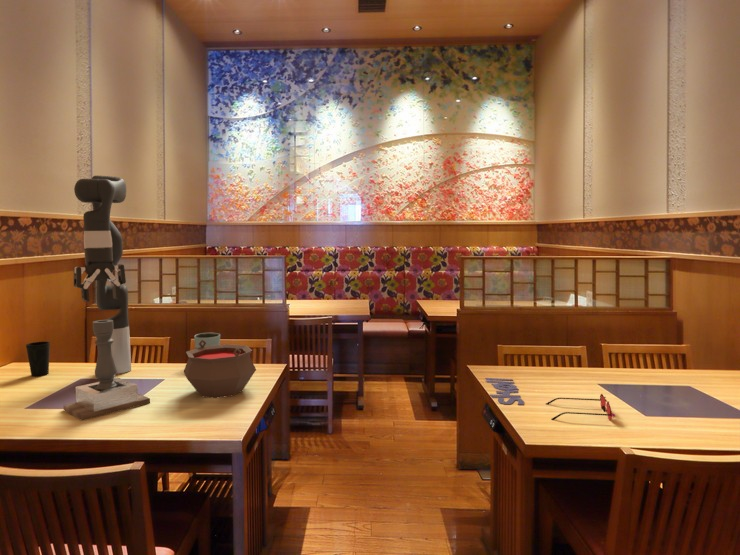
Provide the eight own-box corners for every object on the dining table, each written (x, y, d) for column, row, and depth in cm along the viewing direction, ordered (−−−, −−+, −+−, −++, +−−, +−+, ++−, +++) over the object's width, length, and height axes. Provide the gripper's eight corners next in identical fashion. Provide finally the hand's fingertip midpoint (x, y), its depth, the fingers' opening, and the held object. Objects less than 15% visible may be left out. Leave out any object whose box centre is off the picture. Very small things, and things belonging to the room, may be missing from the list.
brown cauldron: (169, 392, 179) (167, 344, 177) (231, 377, 196) (230, 333, 195) (207, 408, 163) (205, 355, 161) (271, 390, 180) (270, 342, 179)
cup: (55, 373, 205) (53, 342, 204) (34, 378, 199) (32, 346, 198) (45, 371, 209) (43, 340, 208) (24, 375, 203) (21, 344, 202)
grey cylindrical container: (213, 360, 223) (212, 331, 222) (226, 364, 216) (225, 334, 215) (190, 364, 216) (189, 335, 215) (202, 368, 209) (201, 338, 208)
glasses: (615, 424, 145) (615, 406, 145) (551, 421, 149) (551, 403, 148) (603, 408, 159) (604, 391, 158) (545, 405, 162) (545, 388, 162)
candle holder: (122, 398, 168) (118, 319, 166) (111, 405, 162) (106, 323, 160) (104, 398, 169) (99, 319, 166) (91, 404, 162) (86, 322, 160)
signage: (526, 404, 161) (492, 403, 162) (526, 406, 161) (492, 405, 162) (513, 378, 189) (484, 377, 190) (513, 380, 189) (484, 379, 190)
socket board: (63, 410, 162) (63, 405, 162) (129, 394, 177) (129, 390, 177) (82, 420, 153) (82, 415, 153) (150, 402, 168) (149, 398, 168)
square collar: (76, 402, 164) (75, 386, 164) (119, 392, 174) (118, 377, 174) (94, 411, 156) (93, 395, 155) (138, 400, 166) (137, 384, 165)
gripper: (116, 245, 169) (119, 296, 170) (67, 246, 158) (71, 301, 159) (127, 245, 164) (130, 298, 165) (77, 247, 153) (81, 303, 154)
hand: (101, 300), depth 162 cm, fingers open, 8 cm apart
